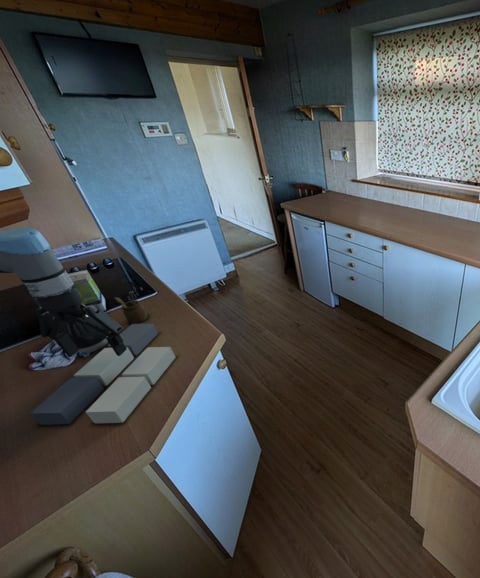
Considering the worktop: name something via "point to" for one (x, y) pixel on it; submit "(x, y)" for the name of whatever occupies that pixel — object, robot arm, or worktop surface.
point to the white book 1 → (105, 366)
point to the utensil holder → (133, 310)
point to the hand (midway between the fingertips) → (98, 353)
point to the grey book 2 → (137, 337)
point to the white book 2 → (119, 400)
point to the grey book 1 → (67, 401)
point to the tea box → (86, 289)
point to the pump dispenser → (85, 337)
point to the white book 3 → (151, 364)
